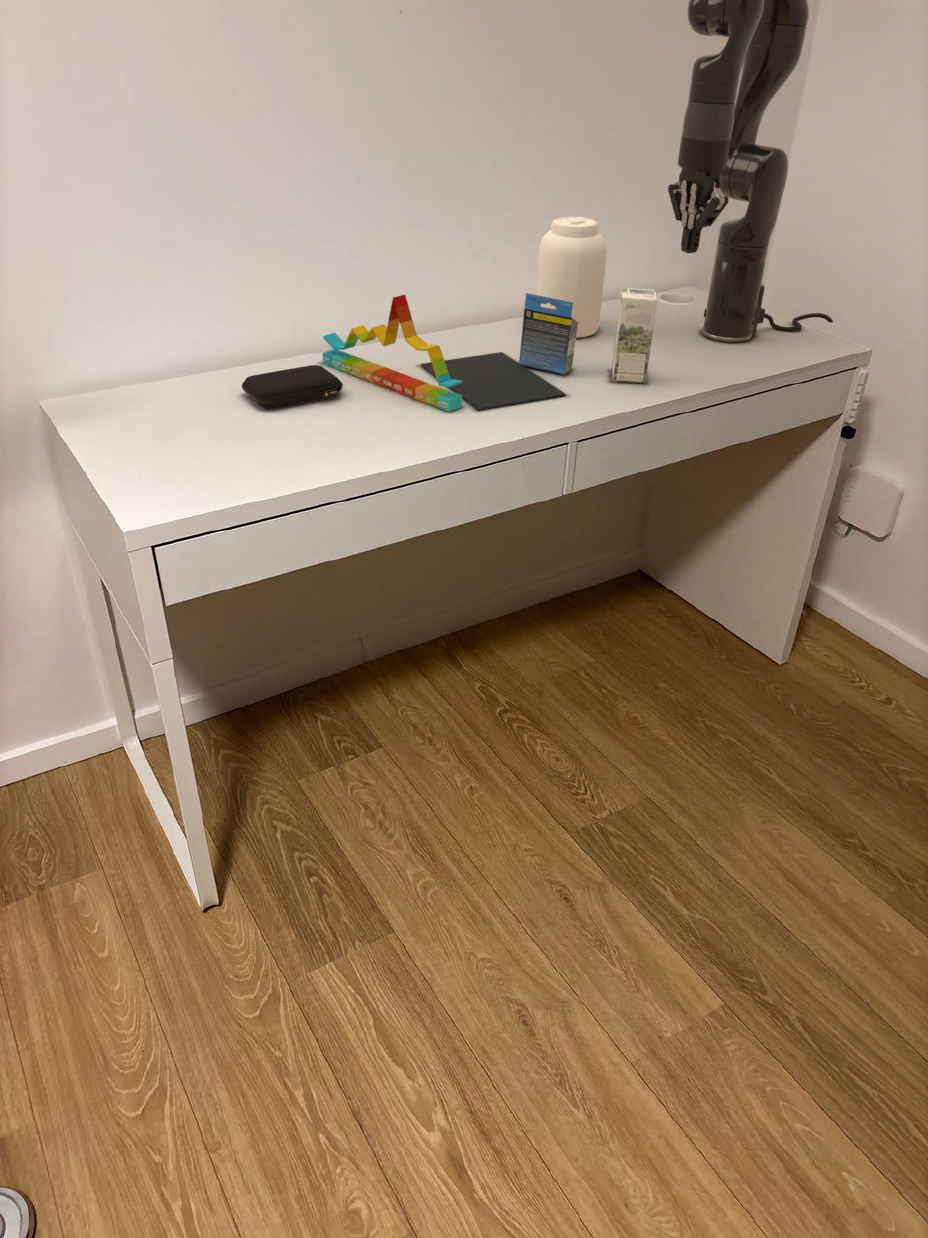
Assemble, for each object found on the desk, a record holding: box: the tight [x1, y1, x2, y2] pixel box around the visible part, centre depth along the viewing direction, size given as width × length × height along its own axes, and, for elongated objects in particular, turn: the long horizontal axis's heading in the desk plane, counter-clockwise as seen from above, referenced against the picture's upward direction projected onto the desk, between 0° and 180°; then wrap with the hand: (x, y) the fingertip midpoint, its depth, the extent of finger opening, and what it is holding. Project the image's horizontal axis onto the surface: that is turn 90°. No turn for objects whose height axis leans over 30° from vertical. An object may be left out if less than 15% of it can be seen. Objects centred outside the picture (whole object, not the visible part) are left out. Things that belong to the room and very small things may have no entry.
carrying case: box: [241, 364, 344, 409], centre depth 155 cm, size 11×3×15 cm
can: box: [535, 215, 608, 339], centre depth 182 cm, size 12×12×20 cm
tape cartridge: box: [518, 292, 578, 376], centre depth 166 cm, size 9×4×12 cm, turn 63°
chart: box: [322, 294, 463, 413], centre depth 157 cm, size 30×3×15 cm, turn 47°
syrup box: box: [611, 287, 658, 384], centre depth 163 cm, size 6×6×14 cm
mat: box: [420, 351, 566, 411], centre depth 164 cm, size 16×22×1 cm
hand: (688, 251), depth 159 cm, fingers closed
